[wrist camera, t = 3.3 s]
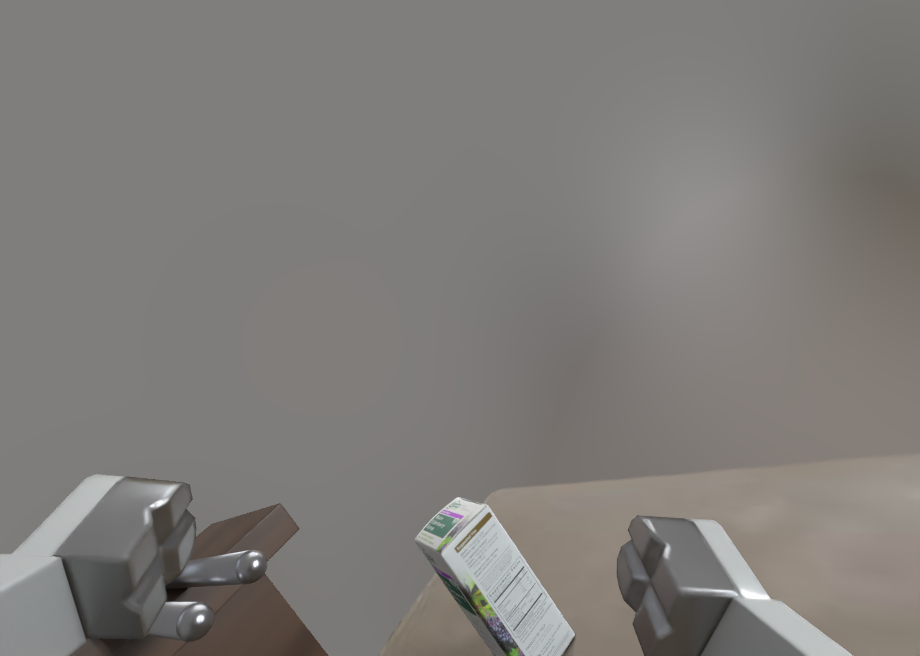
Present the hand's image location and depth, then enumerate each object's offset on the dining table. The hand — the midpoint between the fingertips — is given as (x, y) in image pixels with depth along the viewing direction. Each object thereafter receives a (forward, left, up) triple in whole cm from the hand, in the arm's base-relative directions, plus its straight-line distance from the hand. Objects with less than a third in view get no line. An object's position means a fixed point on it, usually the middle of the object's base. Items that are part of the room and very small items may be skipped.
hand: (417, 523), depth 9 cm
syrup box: (-2, -31, -29) cm, 42 cm away
